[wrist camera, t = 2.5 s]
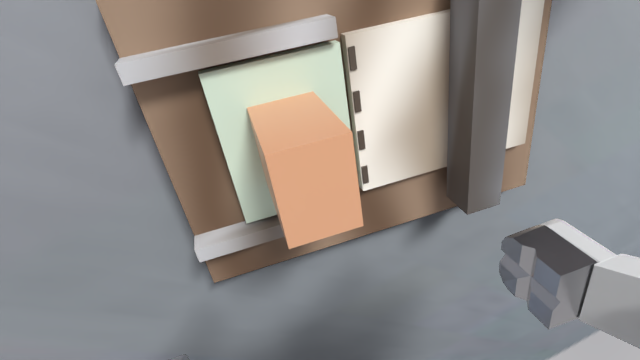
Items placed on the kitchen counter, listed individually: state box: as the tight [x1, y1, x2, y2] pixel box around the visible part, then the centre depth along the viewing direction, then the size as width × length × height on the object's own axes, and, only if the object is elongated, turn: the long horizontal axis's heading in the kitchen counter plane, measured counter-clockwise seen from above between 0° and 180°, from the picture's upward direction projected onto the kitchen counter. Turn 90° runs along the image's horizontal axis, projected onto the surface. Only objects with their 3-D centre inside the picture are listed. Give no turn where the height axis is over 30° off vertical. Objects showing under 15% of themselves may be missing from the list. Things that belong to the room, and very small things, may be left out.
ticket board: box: [96, 0, 552, 283], centre depth 19 cm, size 20×15×4 cm
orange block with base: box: [198, 40, 364, 249], centre depth 16 cm, size 6×8×6 cm
